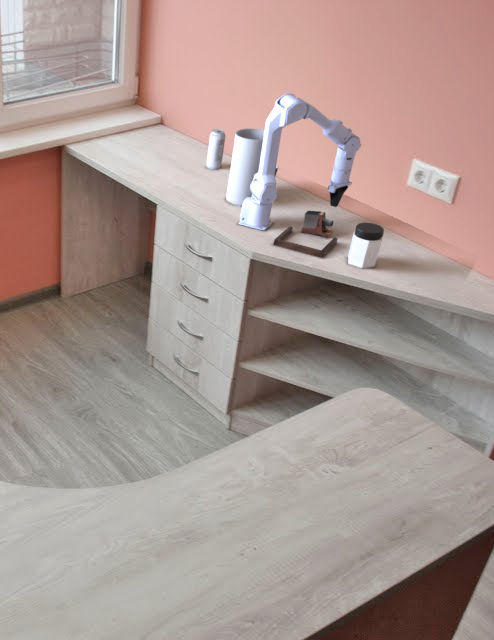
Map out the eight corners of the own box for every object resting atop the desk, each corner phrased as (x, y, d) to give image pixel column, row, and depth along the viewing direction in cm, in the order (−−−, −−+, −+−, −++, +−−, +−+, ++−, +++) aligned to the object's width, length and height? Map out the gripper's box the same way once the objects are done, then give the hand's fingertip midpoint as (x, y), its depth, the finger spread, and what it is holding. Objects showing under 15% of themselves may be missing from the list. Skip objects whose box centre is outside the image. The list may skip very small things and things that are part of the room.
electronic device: (328, 238, 268) (333, 218, 264) (300, 232, 273) (304, 211, 269) (332, 234, 271) (337, 213, 267) (304, 228, 276) (308, 207, 272)
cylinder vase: (224, 205, 293) (234, 138, 279) (226, 192, 303) (236, 127, 289) (259, 208, 290) (271, 141, 276) (260, 195, 300) (272, 130, 286)
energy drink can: (213, 163, 328) (218, 127, 320) (224, 168, 324) (229, 131, 316) (202, 166, 326) (207, 130, 317) (213, 171, 321) (218, 134, 313)
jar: (355, 269, 249) (365, 234, 243) (341, 258, 256) (349, 223, 249) (381, 266, 251) (391, 231, 244) (365, 255, 258) (375, 220, 251)
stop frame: (273, 244, 265) (274, 239, 264) (288, 231, 274) (289, 225, 272) (322, 258, 256) (323, 252, 255) (336, 243, 265) (338, 238, 264)
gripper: (347, 177, 263) (338, 215, 271) (361, 164, 273) (352, 201, 280) (325, 172, 267) (317, 210, 274) (340, 160, 276) (332, 197, 284)
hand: (333, 205), depth 278 cm, fingers closed
